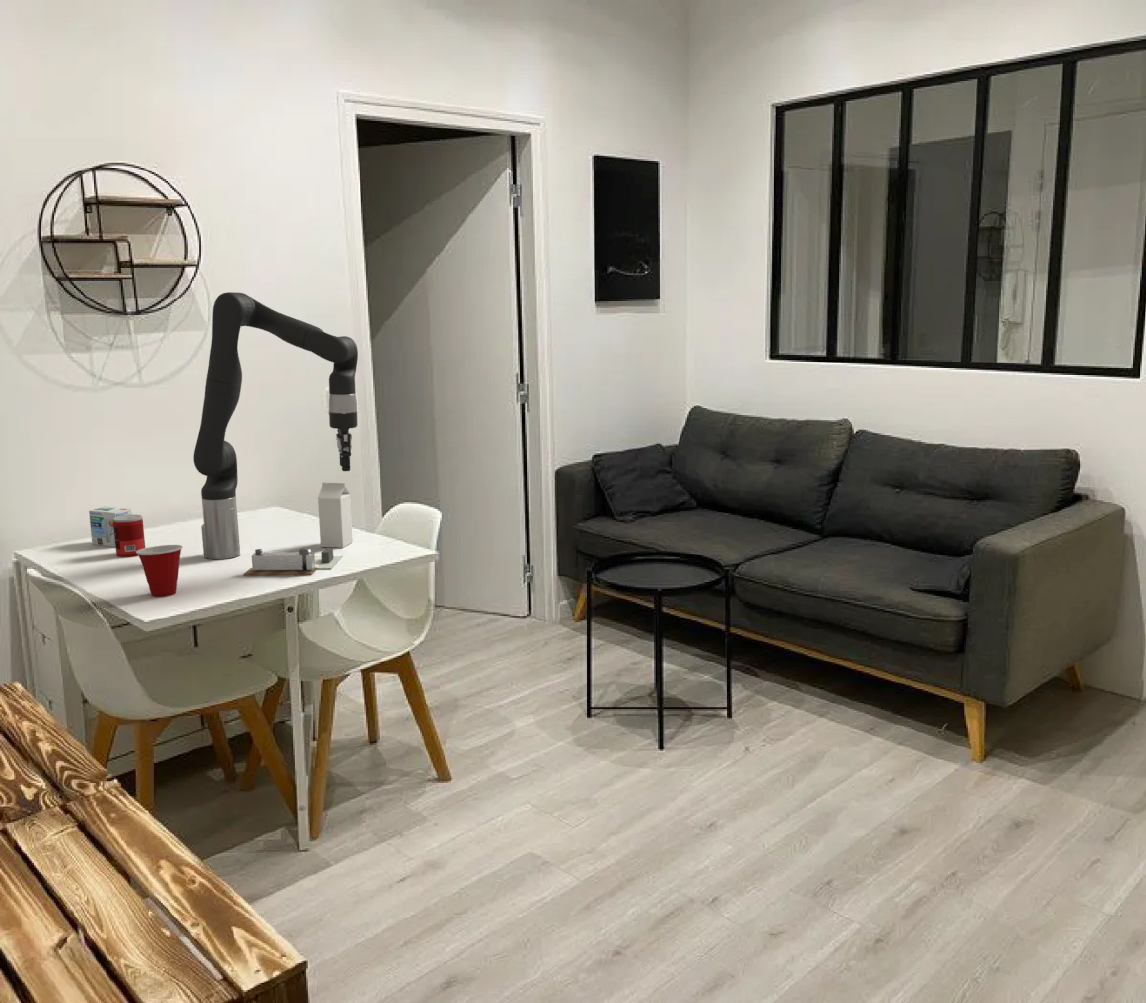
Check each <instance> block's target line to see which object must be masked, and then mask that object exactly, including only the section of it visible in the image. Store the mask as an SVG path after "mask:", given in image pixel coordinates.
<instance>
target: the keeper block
mask: <svg viewBox="0 0 1146 1003" xmlns="http://www.w3.org/2000/svg"><path fill="white" fill-rule="evenodd" d="M320 556H322V563H330V562H331V561H332V560H333V556H334V547H324V549H323V550H322V551H321V555H320Z"/></svg>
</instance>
